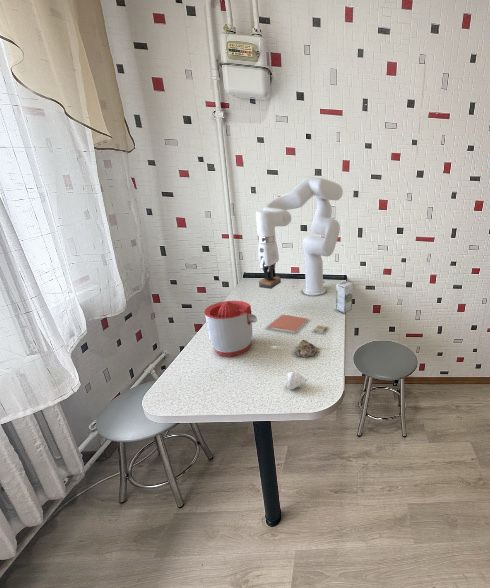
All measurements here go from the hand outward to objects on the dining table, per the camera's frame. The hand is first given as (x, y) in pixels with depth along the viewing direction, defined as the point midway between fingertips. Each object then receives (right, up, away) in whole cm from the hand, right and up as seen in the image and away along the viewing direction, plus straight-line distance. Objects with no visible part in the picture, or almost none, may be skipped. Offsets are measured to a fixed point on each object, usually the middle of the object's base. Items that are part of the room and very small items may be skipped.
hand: (270, 277), depth 154 cm
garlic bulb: (+25, -38, -46) cm, 65 cm away
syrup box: (+33, -16, +11) cm, 39 cm away
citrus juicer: (-4, -29, -27) cm, 40 cm away
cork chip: (+26, -24, -10) cm, 36 cm away
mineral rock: (+23, -30, -26) cm, 46 cm away
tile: (+10, -21, -6) cm, 25 cm away
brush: (0, -3, +1) cm, 4 cm away
